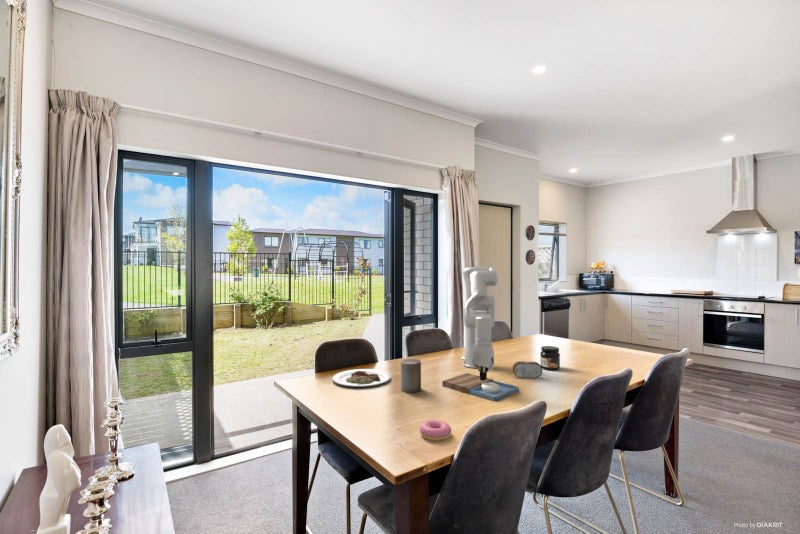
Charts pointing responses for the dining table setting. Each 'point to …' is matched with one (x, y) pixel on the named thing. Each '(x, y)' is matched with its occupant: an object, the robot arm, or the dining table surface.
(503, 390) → the tray
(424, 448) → the dining table surface
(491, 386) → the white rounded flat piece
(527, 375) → the tin
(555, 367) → the supplement container
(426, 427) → the doughnut
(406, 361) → the pillar candle
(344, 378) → the plated food
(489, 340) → the robot arm
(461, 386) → the wooden cutting board
